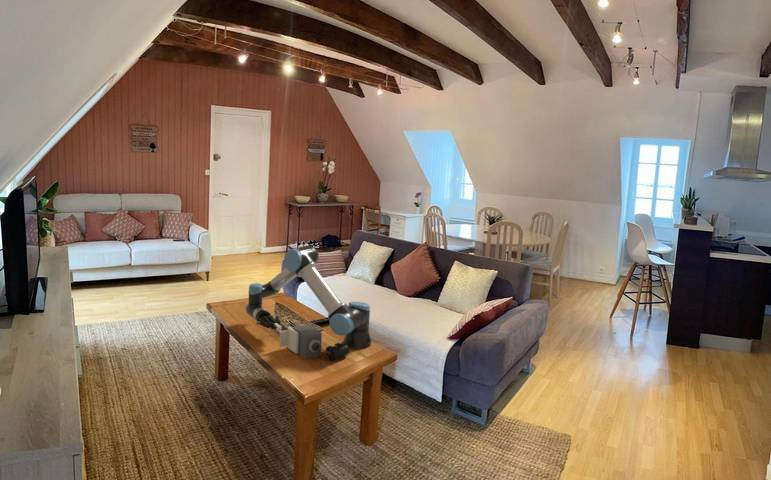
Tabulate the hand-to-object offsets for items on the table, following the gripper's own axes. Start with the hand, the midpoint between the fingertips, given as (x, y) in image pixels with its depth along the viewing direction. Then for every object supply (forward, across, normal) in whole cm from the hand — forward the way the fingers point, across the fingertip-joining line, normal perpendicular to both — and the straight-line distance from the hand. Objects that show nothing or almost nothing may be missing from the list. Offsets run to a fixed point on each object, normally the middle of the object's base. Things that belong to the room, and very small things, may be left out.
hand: (280, 329), depth 256 cm
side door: (+8, -1, -9) cm, 12 cm away
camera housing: (+14, -9, -9) cm, 19 cm away
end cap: (+27, -18, -10) cm, 34 cm away
